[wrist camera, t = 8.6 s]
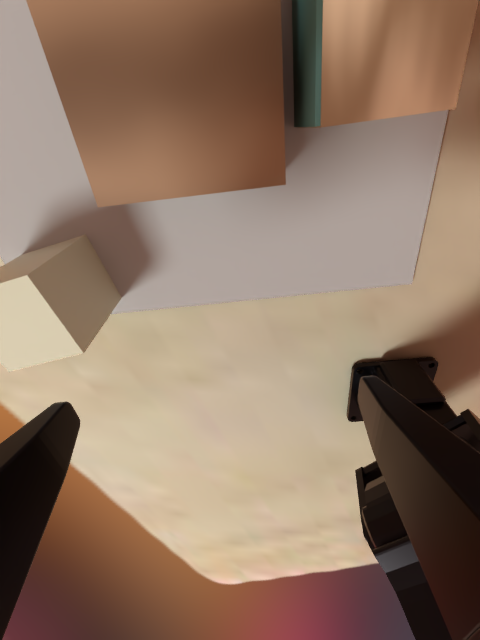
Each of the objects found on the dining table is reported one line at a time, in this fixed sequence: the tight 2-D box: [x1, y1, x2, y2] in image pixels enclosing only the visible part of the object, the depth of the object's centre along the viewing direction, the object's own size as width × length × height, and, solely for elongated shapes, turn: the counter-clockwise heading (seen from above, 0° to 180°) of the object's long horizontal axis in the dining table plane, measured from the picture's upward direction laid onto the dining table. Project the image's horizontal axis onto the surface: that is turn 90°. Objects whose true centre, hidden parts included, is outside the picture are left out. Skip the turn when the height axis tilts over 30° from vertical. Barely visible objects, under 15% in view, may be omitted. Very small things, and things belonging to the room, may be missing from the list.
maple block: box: [292, 0, 479, 128], centre depth 12 cm, size 5×5×5 cm
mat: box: [0, 0, 448, 314], centre depth 15 cm, size 22×26×1 cm
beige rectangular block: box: [0, 234, 122, 372], centre depth 17 cm, size 4×4×6 cm
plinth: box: [26, 0, 286, 207], centre depth 13 cm, size 9×9×3 cm
